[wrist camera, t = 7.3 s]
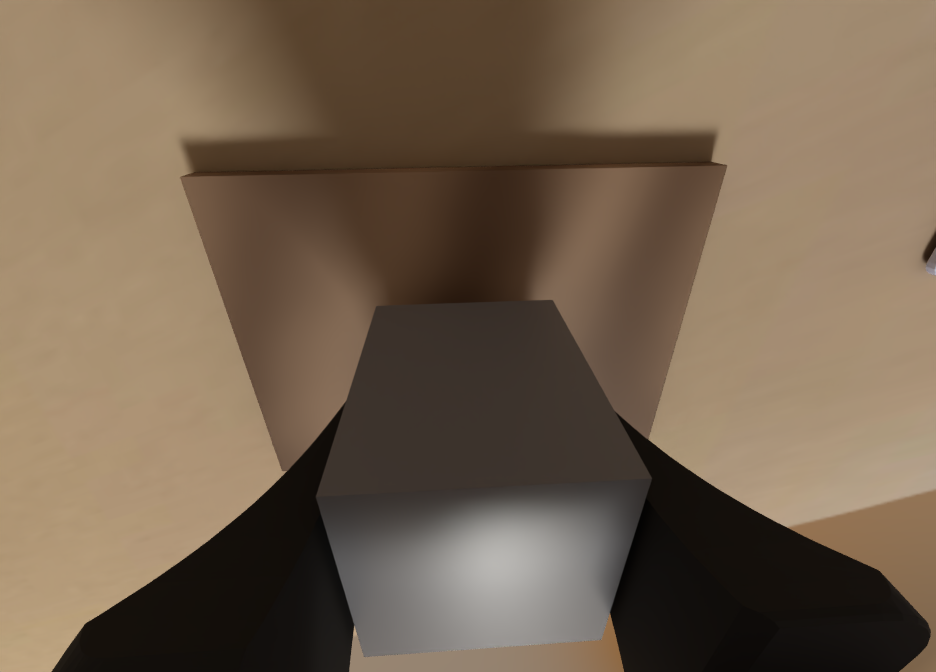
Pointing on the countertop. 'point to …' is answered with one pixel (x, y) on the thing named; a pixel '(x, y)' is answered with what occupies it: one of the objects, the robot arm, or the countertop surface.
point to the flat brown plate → (450, 267)
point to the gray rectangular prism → (478, 482)
